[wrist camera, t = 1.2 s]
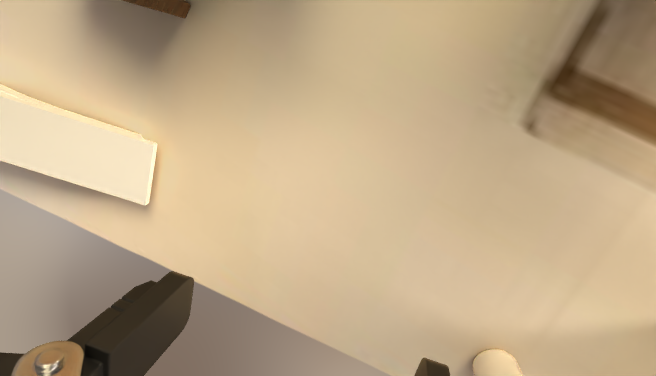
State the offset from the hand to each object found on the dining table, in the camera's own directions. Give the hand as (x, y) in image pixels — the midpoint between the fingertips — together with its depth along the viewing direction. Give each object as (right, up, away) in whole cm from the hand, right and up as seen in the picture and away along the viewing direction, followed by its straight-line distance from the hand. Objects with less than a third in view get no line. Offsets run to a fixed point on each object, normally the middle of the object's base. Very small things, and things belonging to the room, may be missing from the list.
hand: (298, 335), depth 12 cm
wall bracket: (-34, +12, +35) cm, 50 cm away
